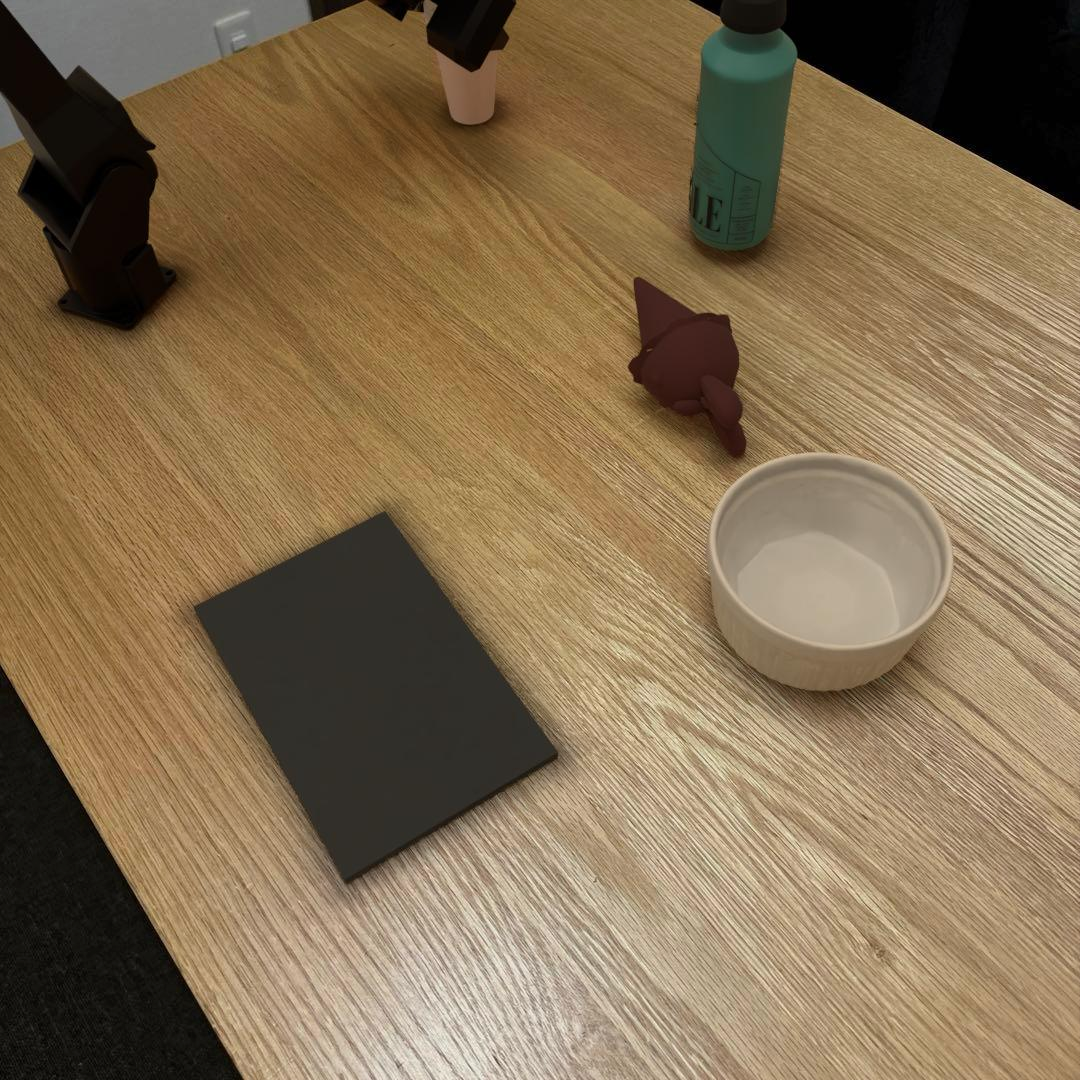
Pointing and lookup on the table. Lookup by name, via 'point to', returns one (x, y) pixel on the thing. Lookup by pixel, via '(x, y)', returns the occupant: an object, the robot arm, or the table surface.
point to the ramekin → (826, 569)
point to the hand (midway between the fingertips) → (479, 26)
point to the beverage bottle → (741, 124)
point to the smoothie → (467, 84)
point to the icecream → (689, 363)
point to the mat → (372, 693)
